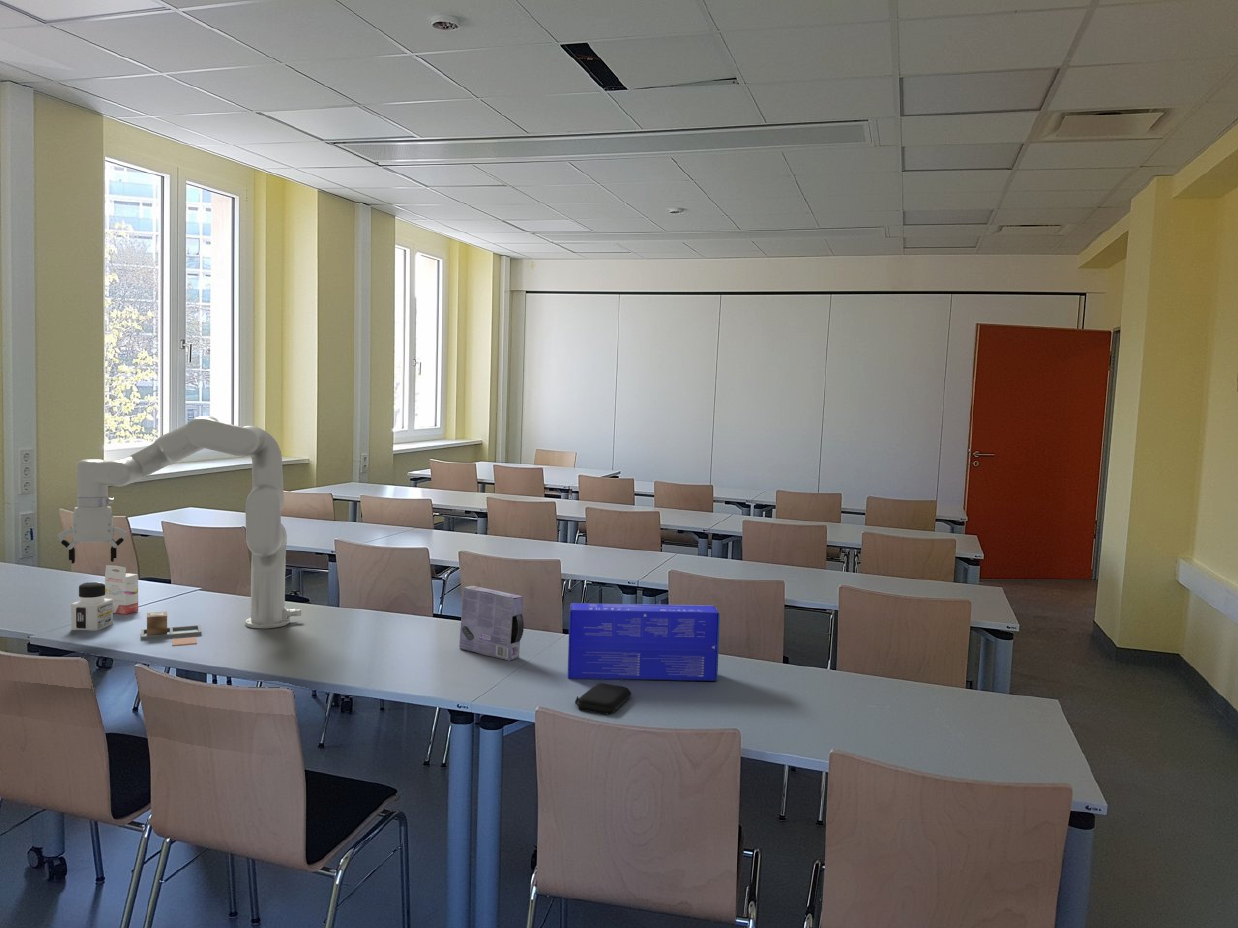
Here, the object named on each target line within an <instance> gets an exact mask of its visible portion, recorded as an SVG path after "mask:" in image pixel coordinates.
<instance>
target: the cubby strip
mask: <svg viewBox="0 0 1238 928" xmlns="http://www.w3.org/2000/svg"><path fill="white" fill-rule="evenodd" d="M199 636H202V627H201V625H200V624H193V625H184V626H183V625H180V626H167V634H161V635H149V636H147V628H143V629H141V630H140V641H151V640H162V639H178V638H189V637H199Z"/></svg>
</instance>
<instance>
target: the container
mask: <svg viewBox="0 0 1238 928" xmlns="http://www.w3.org/2000/svg"><path fill="white" fill-rule="evenodd" d="M78 599H79V600H78V601H76V602H75V601H74V602H72V603H70V621H71V622H70V630H71V631H100V630H102V629H104V628H106V627H109V626H111V625H113V624H114V613H113V599H105V582H101V581H86V582H83V583H81V584H80V585H79V586H78Z"/></svg>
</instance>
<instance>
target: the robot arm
mask: <svg viewBox="0 0 1238 928" xmlns="http://www.w3.org/2000/svg"><path fill="white" fill-rule="evenodd" d="M204 449H207V450H210V451H214V452H219V453H223V454H228V455H231V456H234V457H235V456H236V457H243V458H244V457H245V458H246V457H249V456H250V458H251V463H252V465H251V475H252V478H251V479H252V481H251V483H252V484H251V485H252V486H251V488H252V489H251V491H250V493H248V495H247V497H246V500H245V540H246V541H245V542H246V545H247V547H248V550H249V551H250V552H251V561H250V562H251V563H250V564H251V567H250V570H251V572H250V576H251V577H250V617H248V618H247V619H246V620H244V625H245V626H246V627H248V628H252V629H275V628H276V629H277V628H280V627H285V626H287V625H289V624H290V623H291V617H301V616H302V609H296V608H292V609H291V608H290V609H289V608H287V607H286V604H285V603H286V560H287V559H286V555H287V542H288V541H287V539H288V535H287V530H286V528H285V526H284V525H283V523H282V519H281V518H282V514H281V513H282V511H281V510H282V509H283V506H284V504H285V495H284V494H285V493H284V474H283V473H284V472H283V457H282V452H281V451H282V450H281V448H280V445H279V443H278V442H277V440H276V439H275V437H274V436H273V435H272V434H271V433H269V432H268V431H266V430H264V429H262V428H260V427H258V426H254V425H245V426H244V425H243V426H239V425H236V424H231V423H226V422H223V421H219V419H217V418H216V417H214V416H211V415H203V416H202V415H201V416H195V417H194V418H192V419H191V420H190V421H188V422H187V423H185V424H182V426H179V427H178V428H175V429H174V430H171V431H169V432H167V433H164V434H163V435H161V436H159V437H158V438H156V440H155V441H154V442H153V443H151V444H150V445H148V446H146V447H145V448H143V449H141V450H138V451H137V452H135V453H132V454H131V455H128V456H126V457H124V458H121V459H120V458H119V459H117V460H116V459H115V460H110V461H107V460H104V459H99V458H98V459H97V458H95V459H94V458H93V459H92V458H91V459H90V458H89V459H81V460H79V461H78V462H77V466H76V483H77V485H76V489H77V491H76V492H77V493H76V501H77V502H76V505H77V506H75V507H74V508H73V514H72V522H71V523H72V525H71V527H70V528H67V529H65V530H63V531H60V532H59V533H57V534H56V535H57V536H56V537H57V539H58V540H59V542H60V543H61V545H63V546H64V547H65V548H67V550H68V561H71V564H72V565H73V564H75V563H76V548H75V546H76V545H77V544H81V543H82V544H83V543H84V544H85V543H106V542H107V543H108V544H109V545H110V546H111V547H110V562H112V563H114V561H115V559H117V556H118V554H117V553H118V552H117V549H118V546H120V545H121V544H122V543H123V542H124V540H125V539H126V537H127V536H128V531H127V530H124V529H121V528H120V527H118V526H114V516H113V510H112V506H110V504H114V501H115V500H114V497H113V498H111V497H109V486H111V487H125V486H128V485H130V484H133V483H135V482H138V481H141V480H142V479H144V478H145V477H148V476H149V475H152V474H153V473H155V472H158V471H160V470H161V469H165V468H166V467H168V466H172V465H173V464H176V463H177V462H179V461H183V459H186V458H187V457H190V456H192V455H193V454H195V453H197V452H200V451H202V450H204ZM114 533H116V534H119V535H120V536H119V538H118V539H117V540H115V539H114ZM70 534H71V539H72V540H71V542H69V541H68V540H67V539H66V538H65V536H67V535H70Z"/></svg>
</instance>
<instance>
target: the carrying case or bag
mask: <svg viewBox="0 0 1238 928" xmlns="http://www.w3.org/2000/svg"><path fill="white" fill-rule="evenodd" d="M631 695H632V692H631V689H629V688H628V687H626V686H622V685H616V684H610V683H603V682H599V683H597V684H595V685H593V686H592V687H591V688H590V689H588V690H587V691H586V692H585V693H584V694H582V695H581V696H580V697H579V696H576V698H575V701H574V704H575V705H576V706H577V707H578V709H579V710H581V711H586V712H591V713H595V714H596V713H597V714H602V715H603V714H604V715H612V714H614V713H615V712H616V710H618V709H619V708H620V707H621V706H622V705H624V703H625V702H626V701H627V700H628V699H629V698H630V697H631Z"/></svg>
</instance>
